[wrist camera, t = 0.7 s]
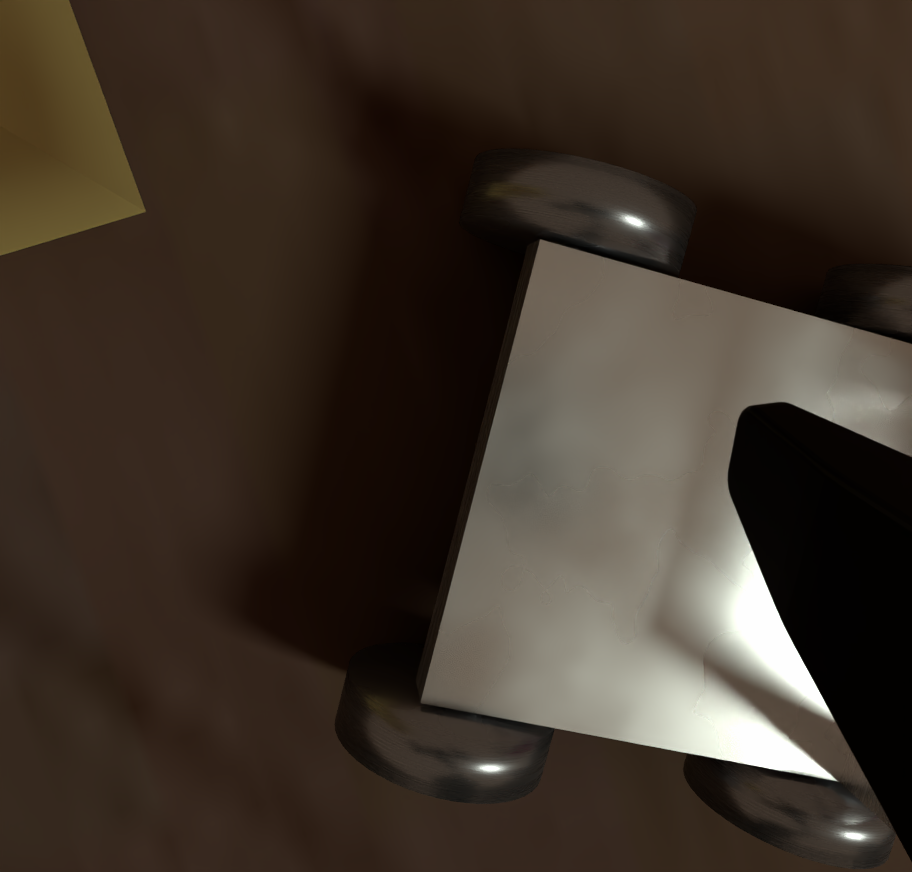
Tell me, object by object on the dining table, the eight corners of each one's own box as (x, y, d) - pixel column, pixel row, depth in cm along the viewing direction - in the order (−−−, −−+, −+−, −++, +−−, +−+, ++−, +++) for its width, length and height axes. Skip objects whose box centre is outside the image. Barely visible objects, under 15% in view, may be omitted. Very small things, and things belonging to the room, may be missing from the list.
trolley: (816, 770, 24) (1245, 1173, 13) (335, 679, 22) (323, 1065, 10) (954, 320, 23) (1568, 309, 11) (460, 177, 21) (602, -13, 9)
